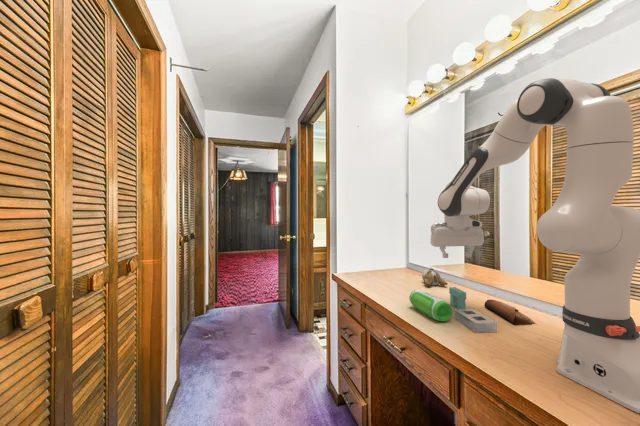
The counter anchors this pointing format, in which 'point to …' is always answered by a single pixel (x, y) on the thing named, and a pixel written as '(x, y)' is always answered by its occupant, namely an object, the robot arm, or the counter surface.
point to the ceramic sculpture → (432, 278)
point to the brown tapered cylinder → (508, 312)
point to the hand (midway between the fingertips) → (457, 257)
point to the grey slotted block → (475, 320)
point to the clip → (457, 297)
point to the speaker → (430, 305)
